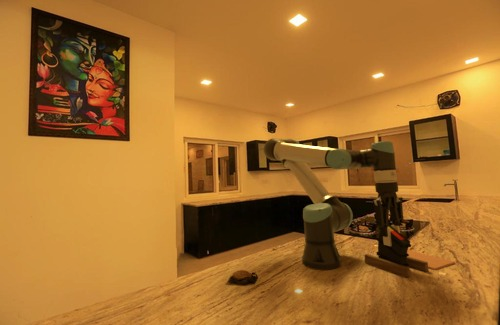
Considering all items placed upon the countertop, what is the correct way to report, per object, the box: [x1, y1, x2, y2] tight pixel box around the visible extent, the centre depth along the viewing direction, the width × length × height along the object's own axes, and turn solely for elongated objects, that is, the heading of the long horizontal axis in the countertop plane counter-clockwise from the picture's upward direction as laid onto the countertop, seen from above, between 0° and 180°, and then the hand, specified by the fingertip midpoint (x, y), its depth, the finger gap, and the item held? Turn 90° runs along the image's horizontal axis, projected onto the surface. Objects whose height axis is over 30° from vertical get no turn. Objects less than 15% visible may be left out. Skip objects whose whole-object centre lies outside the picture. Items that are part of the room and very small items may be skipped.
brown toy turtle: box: [225, 269, 259, 286], centre depth 85 cm, size 11×8×4 cm
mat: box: [407, 249, 456, 271], centre depth 94 cm, size 12×18×1 cm, turn 22°
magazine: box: [376, 223, 412, 267], centre depth 89 cm, size 4×13×15 cm, turn 12°
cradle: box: [364, 253, 430, 279], centre depth 88 cm, size 11×17×3 cm, turn 22°
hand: (392, 244), depth 89 cm, fingers closed on magazine, 4 cm apart
